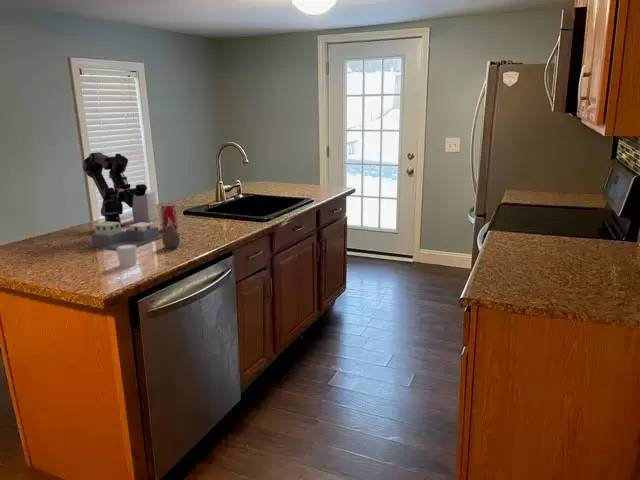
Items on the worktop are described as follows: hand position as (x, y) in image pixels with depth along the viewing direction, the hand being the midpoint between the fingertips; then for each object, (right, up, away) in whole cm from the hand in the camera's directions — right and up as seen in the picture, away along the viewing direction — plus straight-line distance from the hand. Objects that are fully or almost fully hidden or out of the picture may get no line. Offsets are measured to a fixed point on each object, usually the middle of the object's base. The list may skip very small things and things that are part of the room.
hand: (131, 207), depth 217 cm
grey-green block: (-6, -13, -11) cm, 18 cm away
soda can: (+12, -10, +16) cm, 22 cm away
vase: (+22, -18, -15) cm, 32 cm away
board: (0, -15, -6) cm, 17 cm away
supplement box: (-6, -5, +34) cm, 35 cm away
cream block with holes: (+6, -13, -3) cm, 15 cm away
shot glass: (+13, -24, -37) cm, 46 cm away
